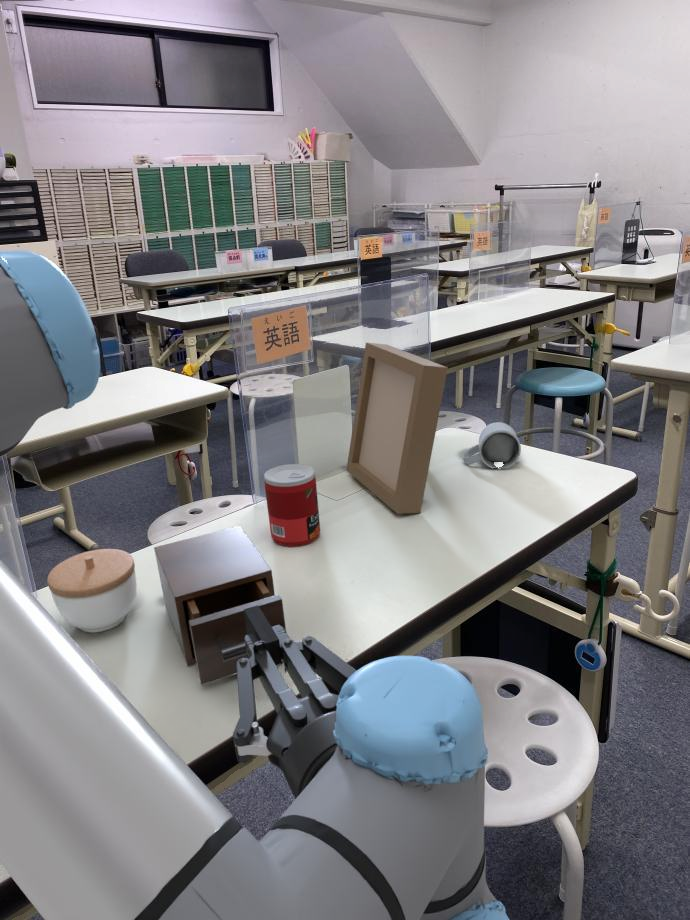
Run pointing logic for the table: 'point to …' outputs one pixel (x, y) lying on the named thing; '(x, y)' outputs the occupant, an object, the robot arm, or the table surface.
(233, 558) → the cabinet
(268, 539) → the table surface
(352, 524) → the table surface
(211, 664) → the drawer
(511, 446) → the ceramic mug
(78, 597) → the trinket box
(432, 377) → the photo frame
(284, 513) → the canned food
